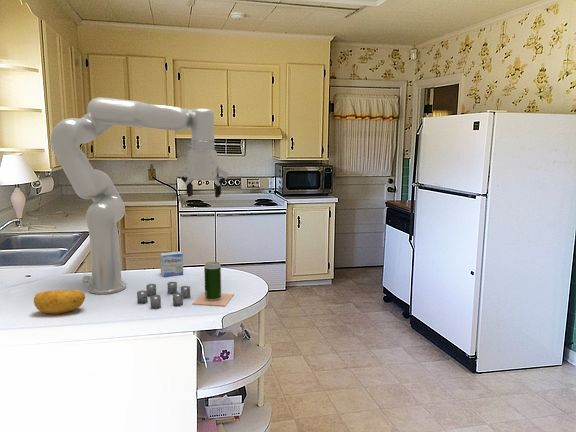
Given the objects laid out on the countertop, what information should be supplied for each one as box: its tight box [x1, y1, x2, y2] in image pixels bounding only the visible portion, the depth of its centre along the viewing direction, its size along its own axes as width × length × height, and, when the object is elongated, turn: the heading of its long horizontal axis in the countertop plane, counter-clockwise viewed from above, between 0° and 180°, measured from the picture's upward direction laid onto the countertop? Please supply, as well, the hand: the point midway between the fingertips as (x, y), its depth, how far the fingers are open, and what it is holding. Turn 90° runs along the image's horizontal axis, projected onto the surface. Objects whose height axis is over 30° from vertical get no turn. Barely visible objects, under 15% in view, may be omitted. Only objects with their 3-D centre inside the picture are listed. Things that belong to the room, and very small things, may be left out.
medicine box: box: [159, 251, 184, 278], centre depth 188 cm, size 8×4×9 cm, turn 117°
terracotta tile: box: [191, 291, 235, 307], centre depth 162 cm, size 11×11×1 cm
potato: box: [33, 289, 86, 315], centre depth 149 cm, size 7×14×7 cm, turn 100°
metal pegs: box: [136, 281, 191, 310], centre depth 161 cm, size 15×17×4 cm
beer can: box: [203, 261, 222, 301], centre depth 161 cm, size 5×5×12 cm
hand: (203, 196), depth 166 cm, fingers open, 9 cm apart
